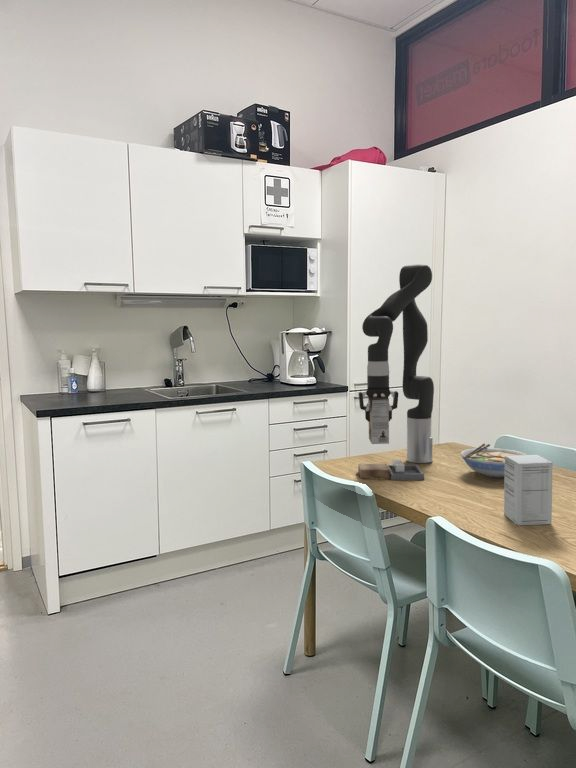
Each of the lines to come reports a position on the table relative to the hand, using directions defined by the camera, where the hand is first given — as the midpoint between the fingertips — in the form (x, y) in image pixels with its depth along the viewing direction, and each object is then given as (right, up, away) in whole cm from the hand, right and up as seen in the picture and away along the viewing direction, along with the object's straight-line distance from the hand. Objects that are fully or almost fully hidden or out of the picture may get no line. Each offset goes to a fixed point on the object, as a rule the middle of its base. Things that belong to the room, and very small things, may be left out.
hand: (378, 420), depth 201 cm
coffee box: (0, -7, +1) cm, 7 cm away
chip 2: (+6, -17, -1) cm, 18 cm away
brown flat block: (-1, -19, +2) cm, 20 cm away
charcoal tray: (+9, -19, +2) cm, 22 cm away
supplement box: (+33, -24, -46) cm, 61 cm away
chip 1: (+6, -17, +4) cm, 18 cm away
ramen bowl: (+40, -19, -1) cm, 45 cm away
